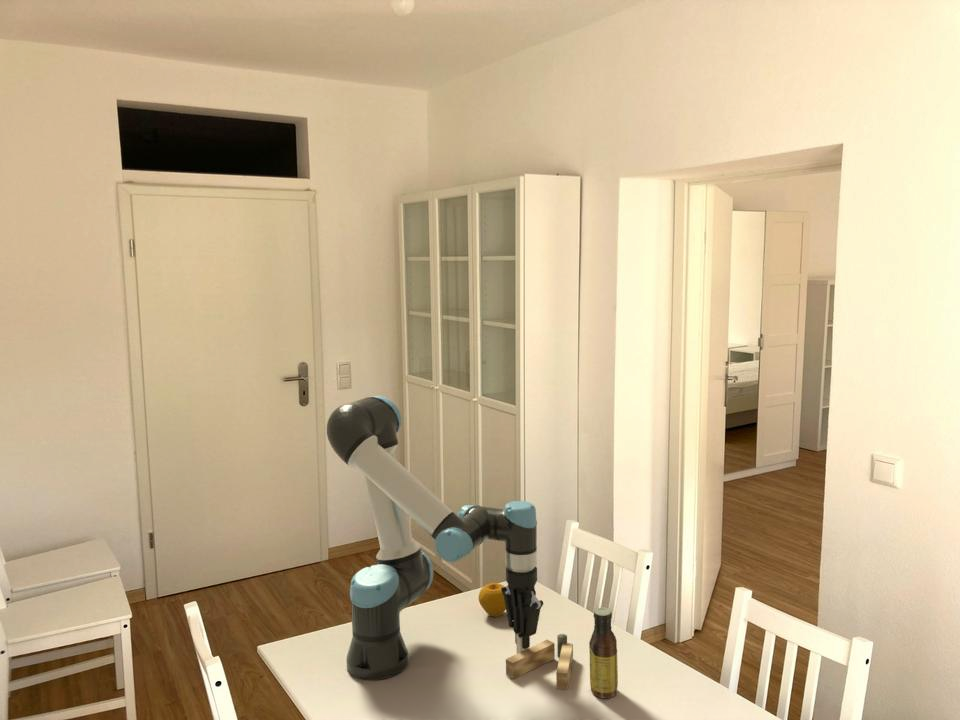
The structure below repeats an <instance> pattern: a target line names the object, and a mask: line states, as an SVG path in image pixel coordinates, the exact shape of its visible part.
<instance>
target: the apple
mask: <svg viewBox="0 0 960 720" xmlns="http://www.w3.org/2000/svg"><path fill="white" fill-rule="evenodd" d="M502 587H505V585H503V584H502V583H499V582H490V583H488V584H485V585H484V586H483V587H482V588H481V589H480V591H479V593H478V598H477V599H478V601H479V604H480V606H481V608H482V609H483V610H484V612H485V613H486V614H488V616H489V617H490V616H491V617H493V618H494V617H495V618H498V617H501V616H502V615H503V614H504V613H505V611H506V606H505V600H504V596H503V593H502V591H501V588H502Z"/></svg>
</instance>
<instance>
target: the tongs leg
mask: <svg viewBox="0 0 960 720" xmlns="http://www.w3.org/2000/svg"><path fill="white" fill-rule="evenodd" d="M555 657H556V656H555V642H554V641H551V640H549V639H545V640H543V641H541V642H539V643H537V644H535V645H533V646H530V647H529V648H528V649H526V650H524V651H522V652H520V653H518V654H517V653H515V654H514V655H511V656H509V657H507V658H506V659H505V675H506V676H507V677H509V678H510V679H516V678H518V677H520V676H522V675H524V674H527V673H528V672H530V671H533V670H534V669H536V668H538V667H541V666H542V665H544V664H546V663H548V662H550V661H553V660H554V659H555Z"/></svg>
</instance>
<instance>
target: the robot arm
mask: <svg viewBox="0 0 960 720" xmlns="http://www.w3.org/2000/svg"><path fill="white" fill-rule="evenodd" d="M401 426H402V415H401V412H400V409H399V407H398V406H397V404H395V403H394V401H392V400H391V399H389V398H388V397H387V396H386V397H385V396H384V395H382V396H381V395H372V396H367V397H363V398H360V399H358V400H355V401H354V400H353V401H352V402H349V403H345V404H342V405H340V406H338V407H337V408H336V409H335V410H333V411H332V413H330V416H329V418H328V419H327V424H326V435H327V436H326V437H327V439H328V442H329V444H330V446H331V448H332V450H333V452H334V453H335V454H336V455H337V456H338V458H340V460H341V461H343V462H344V463H345V464H346V465H347V466H348V467H349V468H357V469H358V471H360V472H361V473H362V474H363V475H364V478H365V484H366V487H367V492H368V497H369V501H370V505H371V511H372V514H373V515H372V516H373V520H374V523H375V524H374V526H375V528H376V533H377V538H378V543H379V547H380V549H379V551H377V553H376V555H375V558H376V562H377V564H372V565H371V566H365V567H364V568H361V569H360V570H358V571H357V572H356V573H355V574H354V575H353V576H352V578H351V581H350V590H349V598H350V610H351V611H350V613H351V628H352V630H351V631H352V638H351V641H350V644H349V648H348V651H347V654H346V669H347V672H348V673H349V674H350V675H352V676H353V677H355V678H357V679H361V680H366V681H367V680H368V681H370V680H371V681H375V680H384V679H388V678H391V677H395V676H396V675H398V674H401V673H402V672H403V671H405V669H406V668H407V667H408V665H409V652H408V648H407V646H406V644H405V640H404V637H403V634H402V633H401V621H400V620H401V619H400V618H401V616H400V613H401V612H402V611H403V610H404V609H406V608H407V607H408V606H410V605H411V604H412V603H413V602H414V601H416V600H417V599H419V598H420V597H421V596H423V595H424V594H425V592H426V591H427V590H428V589H429V588H430V586H431V584H432V583H433V580H434V566H433V563H432V561H431V559H430V557H429V556H427V555H426V552H424V551H422V550H421V546H420V544H419V543H417V542H415V541H414V540H413V539H414V538H413V535H412V530H411V525H410V521H409V517H410V518H411V519H412V520H413V521H414V522H415V523H417V525H418V526H420V527H421V528H422V529H423V530H424V531H425V532H426V533H427V534H429V535H430V537H431V538H433V540H434V548H435V550H436V552H437V555H438V557H440V558H441V559H442V560H443V561H446V562H449V563H454V562H455V563H456V562H458V561H460V560H462V559H463V558H466V557H467V556H469V555H470V554H471V553H472V552H473V551H474V549H476V548H477V547H479V546H480V545H482V544H483V543H484V542H485V541H486V540H493V541H498V542H500V541H501V542H504V545H505V548H504V549H505V566H506V567H505V581H506V584H507V585H506V586H505V585H504V586H505V587H502V588H501V591H502V593H503V596H504V600H505V606H506V610H505V611H506V617H507V623H508V626H509V628H511V629H513V631H514V634H515V635H514V636H515V637H514V638H515V639H514V641H515V646H516V654H518V653H520V652H522V651H524V650H526V649H528V648H530V647H531V644H530V643H531V642H530V641H531V636H534V635H536V634H537V630H538V625H539V619H540V613H541V609H542V607H543V605H544V601H543V600H541V599H540V600H539V598H537V596H536V595H537V592H536V589H535V586H536V584H537V581H538V568H537V566H538V554H537V553H538V548H537V547H538V546H537V537H538V536H537V535H538V533H537V528H538V527H537V525H538V520H537V510H536V509H537V508H536V507H535V504H533V503H531V502H529V501H525V500H519V501H518V500H514V501H513V500H512V501H509V502H507V503H506V504H505V506H504V509H502V508H496V507H490V506H482V505H479V504H474V505H473V504H466V505H463V506H462V507H461V508H460V510H459V511H458V512H457V514H456V513H455V512H454V511H453V510H452V509H451V508H450V507H448V505H446V504H445V503H444V502H443V501H442V500H441V499H440V498H439V497H438V496H436V495H435V494H434V493H433V492H432V491H431V490H430V489H428V488H427V487H426V486H425V485H424V483H422V482H421V481H420V480H419V479H418V478H417V477H415V475H413V474H412V473H411V472H410V471H409V470H408V469H407V468H406V467H405V466H403V464H401V463H400V462H399V461H398V460H397V458H396V455H395V452H396V449H397V448H398V446H399V440H398V436H397V434H398V432H399V431H400V428H401Z"/></svg>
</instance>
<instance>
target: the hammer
mask: <svg viewBox="0 0 960 720" xmlns="http://www.w3.org/2000/svg"><path fill="white" fill-rule="evenodd" d="M556 636H557V639H556V641H557V648H556V649H557V657H558V658H559V659H558V664H557V667H556V671H555V672H556V675H555V676H556V678H555V679H556V683H555V684H556V685H555V686H556V689H557V690H565V691H566V690H568V688H569V683H570V677H571V672H572V666H573V662H574V661H573V660H574V644H573V643H569V642H568V635H567V634H565V633H559V634H558V635H556Z"/></svg>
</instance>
